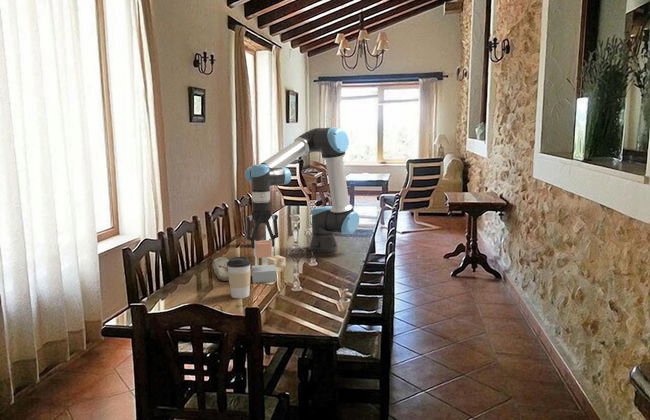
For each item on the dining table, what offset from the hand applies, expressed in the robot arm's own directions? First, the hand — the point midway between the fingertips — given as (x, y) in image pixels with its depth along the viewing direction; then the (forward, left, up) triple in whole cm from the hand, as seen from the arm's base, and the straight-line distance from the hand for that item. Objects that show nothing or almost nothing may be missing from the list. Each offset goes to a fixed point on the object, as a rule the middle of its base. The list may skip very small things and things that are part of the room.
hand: (263, 254), depth 209 cm
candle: (-10, -62, -11) cm, 64 cm away
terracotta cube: (0, 0, 0) cm, 0 cm away
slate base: (0, 0, -11) cm, 11 cm away
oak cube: (-8, -11, -11) cm, 17 cm away
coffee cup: (+13, +18, -11) cm, 25 cm away
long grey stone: (+15, -19, -11) cm, 26 cm away
